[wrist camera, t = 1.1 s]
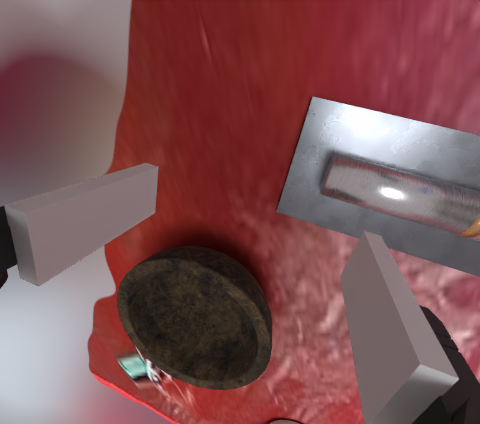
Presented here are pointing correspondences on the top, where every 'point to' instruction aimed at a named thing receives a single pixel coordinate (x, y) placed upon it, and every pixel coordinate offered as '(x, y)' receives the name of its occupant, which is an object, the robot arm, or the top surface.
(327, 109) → the plate
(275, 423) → the supplement tub
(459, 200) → the tube
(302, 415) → the top surface
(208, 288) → the bowl
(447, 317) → the top surface
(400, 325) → the robot arm
